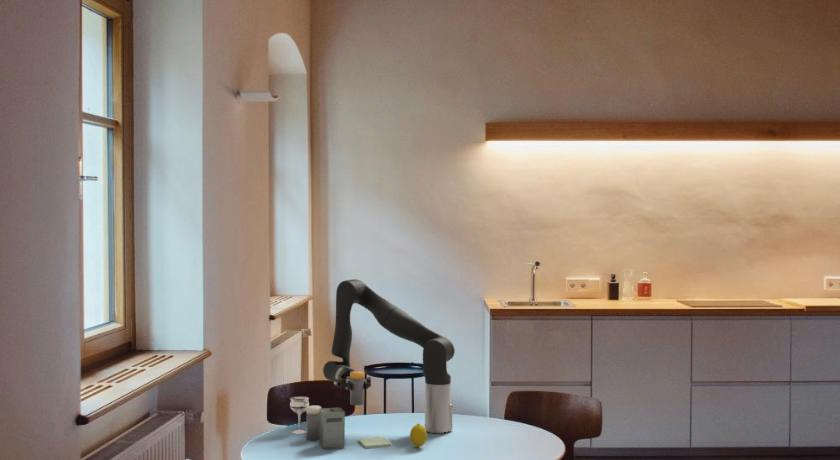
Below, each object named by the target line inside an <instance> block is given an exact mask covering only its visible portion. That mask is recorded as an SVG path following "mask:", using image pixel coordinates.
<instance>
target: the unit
mask: <svg viewBox="0 0 840 460" xmlns="http://www.w3.org/2000/svg"><path fill="white" fill-rule="evenodd" d="M345 414H346V412H345V410H343V409H342V408H341V407H327V408H326V407H324V408H322V407H321V409H320V420H319V440H318V445H319V446H320V447H321V449H322V450H323V451H327V450H339V449H341V450H342V449H345V446H346V445H345V444H346V443H345V440H346V439H345V437H346V436H345V433H346V431H345V427H346V425H345V424H346V423H345V422H346V421H345V420H346V415H345Z"/></svg>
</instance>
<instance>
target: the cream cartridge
mask: <svg viewBox="0 0 840 460" xmlns="http://www.w3.org/2000/svg"><path fill="white" fill-rule="evenodd" d="M321 408H322V406H320V405H309V406H307V407H306V411H305V412H306V434H305V435H306V436H305V437H306V439H305V440H306V441H308V442H316V441H318V442H319V420H320V409H321Z"/></svg>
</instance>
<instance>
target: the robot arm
mask: <svg viewBox="0 0 840 460" xmlns="http://www.w3.org/2000/svg"><path fill="white" fill-rule="evenodd" d="M354 304H357V305H360V306H361V307H363V308H365V310H367V311H369V312H370V313H371V314H372V315H373V317H374V318H375V320H376V322H377V323H378V324H379V325H380V326H381V327H382V328H384V329H385V330H387V331H388V332H389V333H391V334H392V335H394V336H396V337H399V338H401V339H403V340H406V341H409V342H411V343H414V344H416V345H418V346H420V347H421V348H423V349H422V371H423V376H424V381H425V382H424V428H425V429H426V433H430V434H431V433H432V434H445V433H444V432H446V433H449V432H452V431H453V404H452V403H451V395H452V394H451V393H452V391H451V387H452V385H451V383H452V382H451V379H452V377H451V375H450V374H449V373H448V371H447V370H448V369H447V368H448V367H447V362H449V361H451V360H452V359H453V357H454V355H455V347H454V344H453V343H452V342H451V340H450V339H448V338H447V337H445V336H443V335H441V334H440V333H437V332H435V331H433V330H432V329H430V328H428V327H427V326H425V325H424V324H422V323H421V322H419V321H418V320H417V319H416V318H414V317H413V316H411V315H409V313H407V312H406V311H404V310H402V309H401V308H400V307H398V306H397V305H395V304H393V303H392V302H390V301H388V300H387V299H385V298H384V297H382V296H381V295H380V294H378V293H377V292H376V291H374V290H373V289H372V288H371V287H370V286H368V285H367V284H366V283H365V282H363V281H362V280H360V279H356V278H355V279H354V278H353V279H346V280H342V281H341V282H340V283H339V284H338V285H337V288H336V294H335V325H334V327H335V328H334V334H333V338H332V339H333V340H332V346H331V354H332V355H333V356H335V357H337V358H340V359H341V360H342V361H338V360H337V361H335V360H329V361H326V363H325V364H324V365H323V368H322V372H323V376H324V378H325V379H326V380H329V381H332V382H333V386H334V387H336V388H337V389H342V390H343V389H344V390H345V391H350V390H353V384H352V383H351V382H350V372H352V371H356V370H355V369H354V368H351V367H352V366H351V362H350V358H351V357H350V356H351V355H350V354H351V348H352V341H353V329H352V323H351V311H352V308H353V305H354ZM371 383H372V377H371V376H368V377H366V378H364V390H368V389H369V388H371V387H372V384H371ZM451 430H452V431H451ZM448 431H449V432H448Z"/></svg>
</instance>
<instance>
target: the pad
mask: <svg viewBox="0 0 840 460" xmlns="http://www.w3.org/2000/svg"><path fill="white" fill-rule="evenodd" d="M358 443H359V444H360V445H361V446H362V447H363V448H364V449H372V448H373V449H374V448H375V449H376V448H385V447H387V448H388V447H392V443H391V442H390V441H389V440H388V439H387V438H385V437H384V436H383V437H382V436H381V437H371V438H359V439H358Z"/></svg>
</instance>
